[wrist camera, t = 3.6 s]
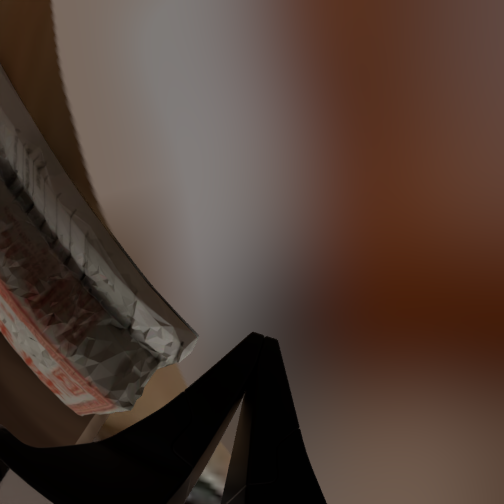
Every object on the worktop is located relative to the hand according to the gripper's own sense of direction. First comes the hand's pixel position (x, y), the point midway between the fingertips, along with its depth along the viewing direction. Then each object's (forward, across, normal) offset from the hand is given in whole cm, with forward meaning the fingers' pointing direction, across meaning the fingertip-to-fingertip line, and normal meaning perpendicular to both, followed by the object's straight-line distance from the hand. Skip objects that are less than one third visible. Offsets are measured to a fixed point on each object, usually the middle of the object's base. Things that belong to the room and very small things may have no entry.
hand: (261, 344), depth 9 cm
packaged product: (+2, +12, +1) cm, 12 cm away
